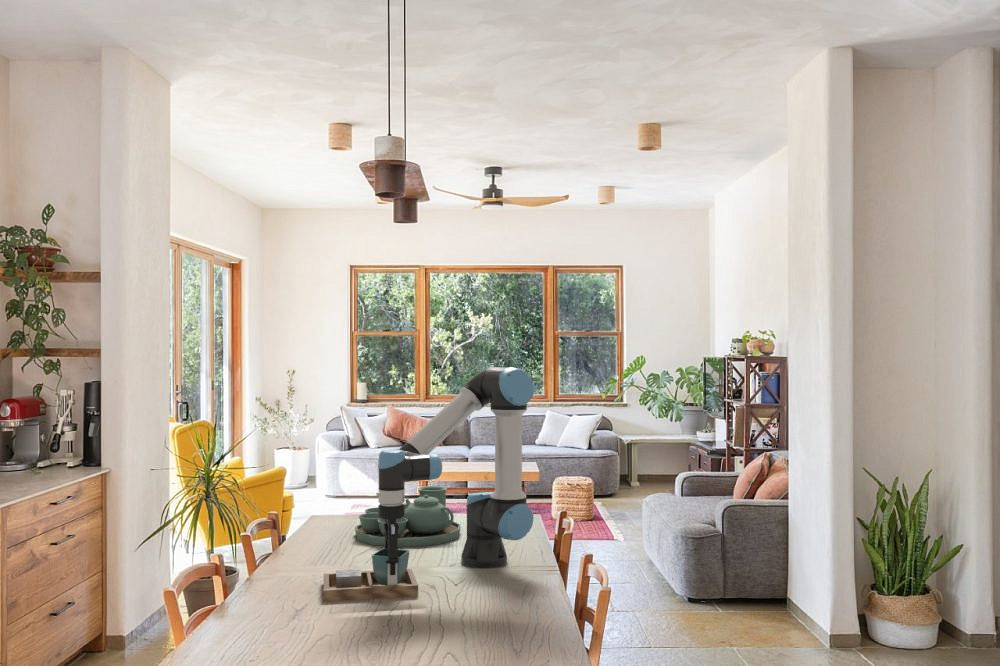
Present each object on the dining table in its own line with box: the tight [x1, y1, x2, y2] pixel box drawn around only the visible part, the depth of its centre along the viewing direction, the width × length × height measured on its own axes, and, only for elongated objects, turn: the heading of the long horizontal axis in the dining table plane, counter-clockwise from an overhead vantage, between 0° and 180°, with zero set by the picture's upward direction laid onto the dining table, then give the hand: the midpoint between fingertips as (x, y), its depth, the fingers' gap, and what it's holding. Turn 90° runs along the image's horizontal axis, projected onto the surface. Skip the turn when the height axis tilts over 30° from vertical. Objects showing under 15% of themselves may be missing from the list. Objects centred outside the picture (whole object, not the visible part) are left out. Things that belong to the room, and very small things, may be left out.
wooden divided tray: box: [322, 568, 419, 603], centre depth 238 cm, size 26×18×4 cm
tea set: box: [354, 485, 461, 548], centre depth 314 cm, size 40×40×16 cm
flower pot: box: [371, 548, 410, 585], centre depth 240 cm, size 9×9×9 cm
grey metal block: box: [335, 569, 362, 588], centre depth 237 cm, size 7×7×5 cm
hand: (390, 580), depth 240 cm, fingers closed on flower pot, 10 cm apart
